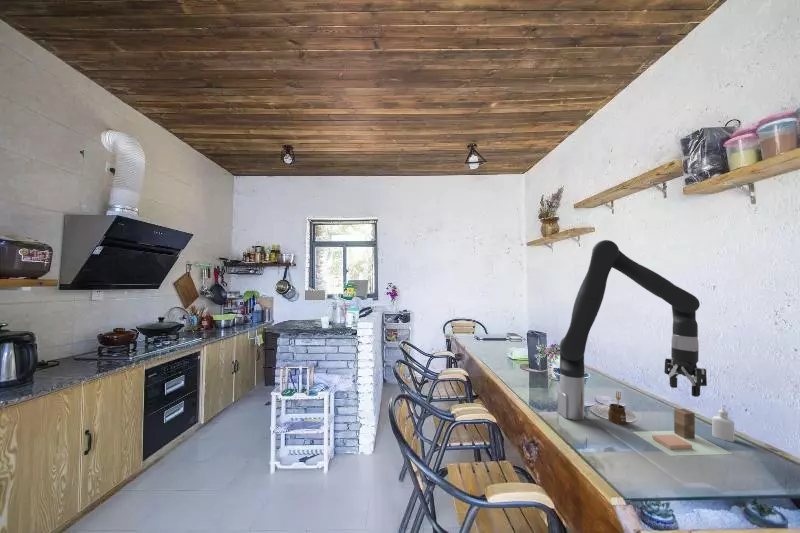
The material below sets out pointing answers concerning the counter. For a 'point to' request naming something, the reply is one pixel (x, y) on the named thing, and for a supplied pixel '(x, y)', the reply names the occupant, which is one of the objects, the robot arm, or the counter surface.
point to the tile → (672, 442)
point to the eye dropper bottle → (723, 426)
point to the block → (684, 423)
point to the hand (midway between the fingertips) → (684, 391)
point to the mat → (698, 448)
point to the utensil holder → (617, 412)
